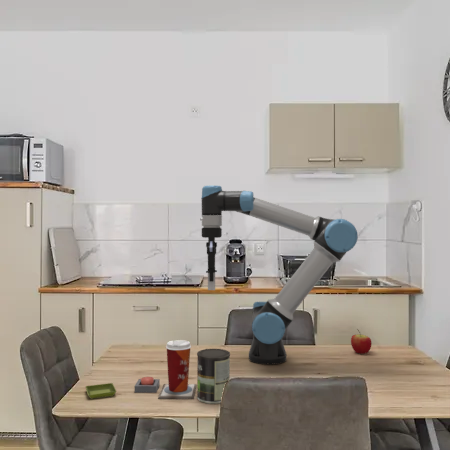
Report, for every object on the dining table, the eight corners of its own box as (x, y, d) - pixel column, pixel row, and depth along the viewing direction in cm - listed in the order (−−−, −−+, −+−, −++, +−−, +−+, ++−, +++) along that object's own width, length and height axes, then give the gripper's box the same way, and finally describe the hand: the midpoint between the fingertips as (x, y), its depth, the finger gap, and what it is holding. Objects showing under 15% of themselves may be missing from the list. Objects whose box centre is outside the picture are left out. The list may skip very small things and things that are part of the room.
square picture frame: (196, 386, 160) (196, 382, 160) (193, 399, 148) (193, 395, 148) (163, 385, 161) (163, 381, 161) (158, 398, 149) (158, 394, 149)
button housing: (159, 385, 161) (159, 379, 161) (156, 392, 154) (156, 386, 154) (138, 384, 161) (138, 379, 161) (134, 392, 154) (134, 386, 154)
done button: (154, 385, 160) (154, 376, 160) (152, 389, 156) (152, 380, 156) (142, 384, 160) (142, 376, 160) (140, 389, 156) (140, 380, 156)
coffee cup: (187, 394, 150) (187, 346, 150) (161, 392, 151) (162, 344, 152) (194, 385, 158) (194, 340, 158) (170, 384, 160) (170, 338, 160)
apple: (354, 349, 207) (355, 326, 207) (374, 352, 202) (374, 329, 202) (347, 353, 201) (347, 329, 201) (367, 357, 196) (367, 332, 196)
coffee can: (197, 404, 144) (197, 357, 144) (196, 392, 154) (196, 348, 154) (231, 403, 145) (231, 357, 145) (228, 391, 155) (228, 348, 155)
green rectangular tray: (87, 401, 147) (87, 394, 147) (85, 392, 155) (85, 385, 155) (116, 398, 150) (116, 391, 150) (112, 389, 159) (112, 382, 159)
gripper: (202, 226, 187) (202, 287, 187) (200, 227, 174) (200, 292, 174) (221, 226, 186) (221, 287, 187) (221, 227, 173) (221, 292, 174)
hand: (211, 289), depth 180 cm, fingers closed
